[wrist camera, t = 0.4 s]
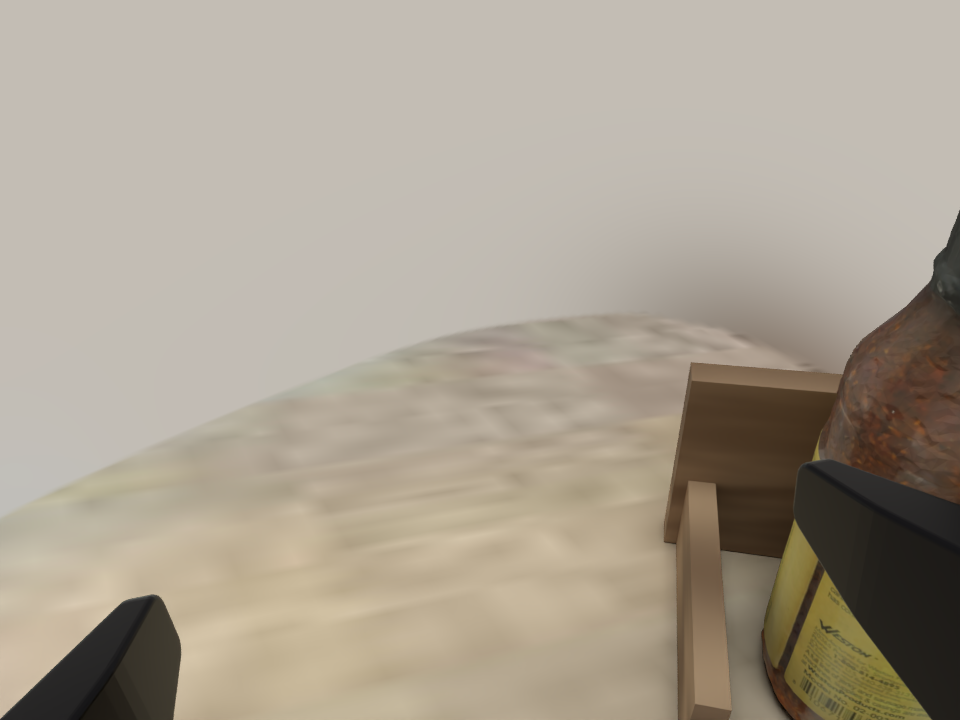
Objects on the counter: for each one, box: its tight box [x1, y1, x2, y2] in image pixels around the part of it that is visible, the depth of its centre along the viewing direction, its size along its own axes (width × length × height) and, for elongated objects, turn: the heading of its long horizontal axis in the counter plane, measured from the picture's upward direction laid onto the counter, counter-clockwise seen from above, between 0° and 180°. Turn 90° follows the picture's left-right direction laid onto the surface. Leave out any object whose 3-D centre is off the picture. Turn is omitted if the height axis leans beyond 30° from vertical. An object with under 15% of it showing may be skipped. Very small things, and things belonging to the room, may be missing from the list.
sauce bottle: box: [761, 211, 960, 720], centre depth 17 cm, size 6×6×20 cm
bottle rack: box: [664, 362, 843, 720], centre depth 21 cm, size 10×12×9 cm
